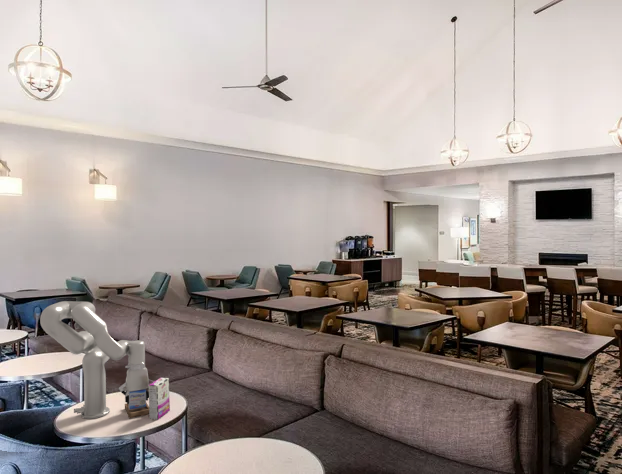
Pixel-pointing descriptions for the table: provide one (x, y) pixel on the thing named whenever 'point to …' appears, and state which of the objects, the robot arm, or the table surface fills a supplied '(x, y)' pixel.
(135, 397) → the medicine box
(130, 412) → the walnut tray
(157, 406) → the candy bar box
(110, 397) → the table surface
